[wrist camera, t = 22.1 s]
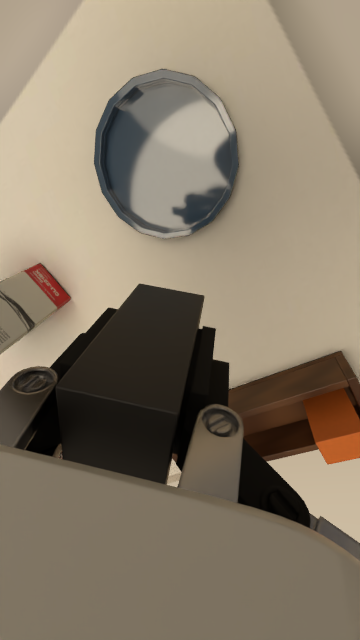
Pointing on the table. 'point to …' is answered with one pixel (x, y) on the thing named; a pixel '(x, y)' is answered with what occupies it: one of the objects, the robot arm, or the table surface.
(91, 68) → the table surface
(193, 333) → the black block
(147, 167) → the bowl
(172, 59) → the table surface
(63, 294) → the ink box
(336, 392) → the orange tall block
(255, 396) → the holder
